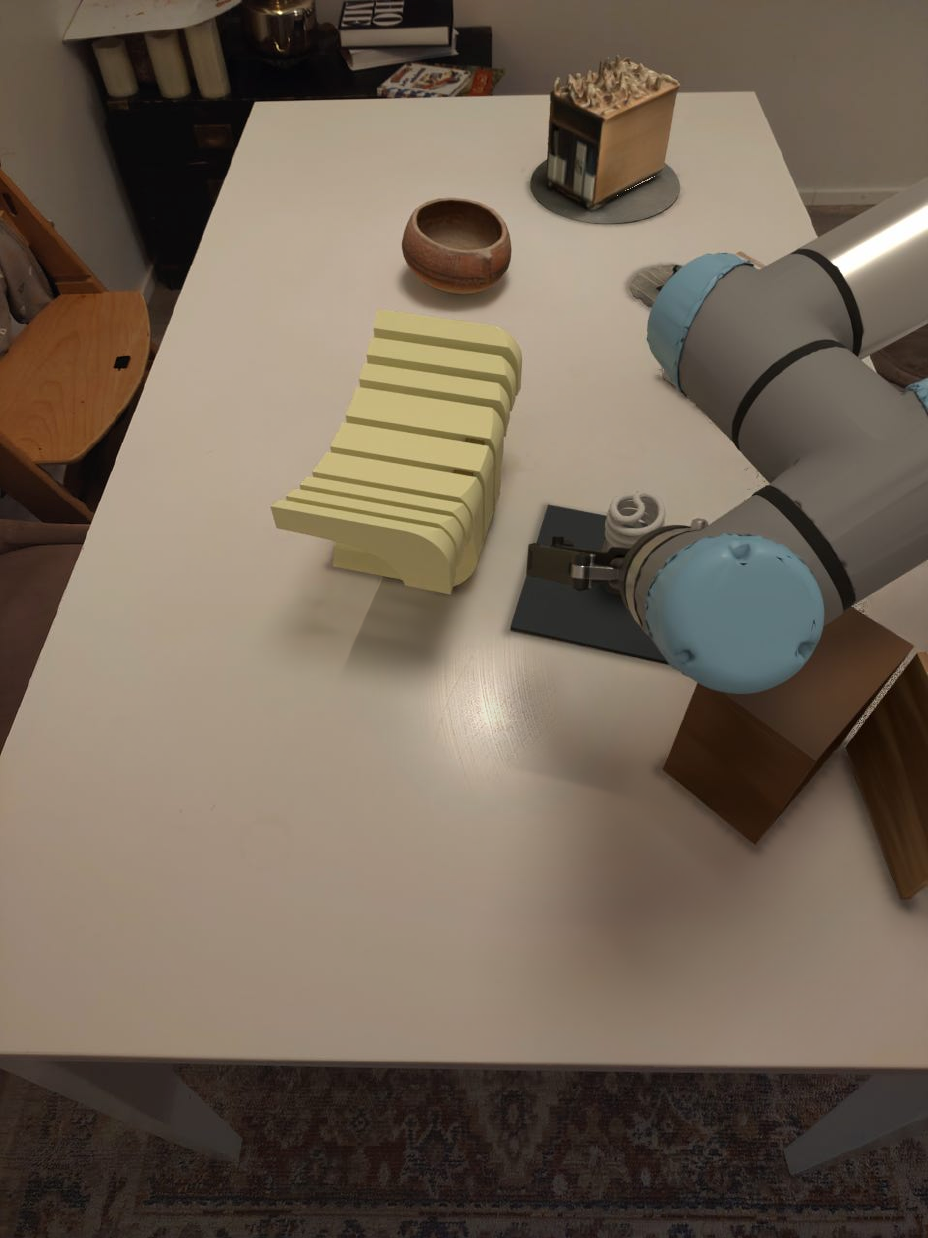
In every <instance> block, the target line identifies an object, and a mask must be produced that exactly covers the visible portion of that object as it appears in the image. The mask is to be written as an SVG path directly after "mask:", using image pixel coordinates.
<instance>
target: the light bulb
mask: <svg viewBox="0 0 928 1238" xmlns="http://www.w3.org/2000/svg"><path fill="white" fill-rule="evenodd" d="M606 516H607V519H606V522H605V528H606V529H605V536H606V540H605V542H604V545H603V548H602V551H605V552H608V551H609V549H610V548H611V547H626V548H631V547H632V546H633V545H634V544H635V543H636V542H637V541H638V540H639V539H640V538H641V537H643V536H644V535H645V534H647V533H649V532H651V531H653V530H655V529H657V528H660V527H664V526H665V524H666V522H665V521H666V505H665V504H664V501H663V500H662V499H661V498H660V497H659V496H658V495H656V494H654V493H652V492H649V491H646V490H645V491H643V490H642V491H638V492H626V493H622V494H619V495H617V496H616V497H614V498H613V499H612V500H611V502H610V504H609V508H608V510H607V513H606ZM640 520H641V521H640ZM640 522H643V523H646V524H647V525H648V526H647V527H644V528H643V527H642V525H641V523H640ZM622 525H628V526H632V527H634V528H635V529H634V528H627V527H624V526H622Z"/></svg>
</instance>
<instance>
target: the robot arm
mask: <svg viewBox="0 0 928 1238" xmlns="http://www.w3.org/2000/svg"><path fill="white" fill-rule="evenodd" d="M734 254H735V253H730V252H717V253H706V254H702V255H700V256H697V257H695V258H693V259H692V260H690V261H688V262H687V263H686V264H684V265H683V266H682V268H680V269H679V270H678V271H677V272H676V273H675V274H674V275H673V276H672V277H671V278H670V279H669V280H668V281H667V283H666V284H665V285H664V286H663V288H662V289H661V291H660V292H659V294H658V296H657V297H656V299H655V301H654V304H653V306H652V308H651V307H650V308H651V309H650V311H649V314H648V319H647V324H646V325H647V327H646V332H647V334H646V342H647V343H648V347H649V350H650V352H651V354H652V355H653V357H654V359H655V360H656V361H657V362H658V364H659V365H660V367H661V368H662V369H663V371H664V370H665V372H666V373H667V374H668V376H669V377H670V378H671V379H672V381H673V382H674V383H675V385H676V386H677V387H676V386H675V387H676V388H677V391H678V392H679V393H680V394H681V395H683V397H687V398H688V399H689V400H691V401H692V403H694V405H696V407H697V408H698V409H699V410H700V411H701V412H702V413H703V414H704V415H705V416H706V417H707V418H708V419H709V420H710V421H711V422H712V423H713V424H714V425H715V426H716V427H717V428H718V429H719V430H720V431H721V432H722V433H723V434H724V435H725V437H727V438H728V439H729V440H730V441H731V442H732V443H733V445H734V447H736V449H737V450H738V451H739V452H740V453H741V455H742V456H743V457H744V458H745V459H746V460H747V461H748V462H749V464H751V465H752V466H753V467H754V469H755V470H756V471H757V472H758V473H759V474H760V475H761V476H762V478H764V480H766V481H767V483H769V484H765V486H763V487H761V488H760V489H758V490H757V491H755V492H754V493H752V494H751V496H750V497H749V498H747V499H745V500H744V501H743V502H741V503H739V504H738V505H737V506H735V507H733V508H732V509H730V510H729V511H727V512H726V513H724V514H723V515H722V516H720V517H719V518H716V520H714V521H713V522H711V523H709V522H708V521H707V520H706V519H705V518H699V517H698V518H694V519H692V520H691V524H690V525H685V524H672V525H664V527H660V528H657V529H655V530H653V531H651V532H649V533H647V534H645V535H644V536H643V537H641V538H640V539H639V540H638V541H637V542H636V543H635V544H634V545H633V546H632V547H631V548H626V547H611V548H610V549H609V551H608V552H605V551H598V550H590V549H583V548H575V547H574V544H573V543H572V542H571V541H570V540H564V537H562V536H551V545H550V547H549V546H544V545H540V544H539V543H537V542H532V543H529V544H528V545H527V557H526V571H525V575H530V576H531V577H538V578H542V579H546V580H550V581H554V582H557V583H561V584H565V585H568V586H570V587H571V588H573V589H576V590H577V591H583V590H587V589H588V588H593V583H596V584H601V585H604V586H605V589H606V591H607V592H609V593H614V594H619V595H621V597H622V600H623V602H624V604H625V606H626V608H627V610H628V611H629V613H630V614H631V615H632V617H633V618H634V620H635V621H636V622H637V623H638V624H639V626H640V627H641V628H642V629H643V630H644V632H645V633H646V634H647V635H648V636H649V637H650V638H651V640H652V641H653V643H654V644H655V645H656V647H657V648H658V650H659V651H660V652H661V654H662V655H663V656H664V658H665V659H666V660H667V662H668V663H669V664H670V665H669V666H671V667H672V668H673V669H676V670H678V671H680V672H681V674H682V675H683V676H685V677H687V678H689V679H691V680H693V681H694V682H696V684H697V683H699V684H701V685H703V686H705V687H707V688H710V689H713V690H716V691H721V692H726V693H733V694H749V693H756V692H761V691H764V690H767V689H770V688H773V687H775V686H777V685H779V684H781V683H783V682H785V681H786V680H788V679H789V678H791V677H792V676H793V675H795V674H796V673H797V672H798V671H799V670H800V669H801V668H802V667H803V666H804V664H805V663H806V662H807V661H808V659H809V658H810V656H811V655H812V653H813V651H814V649H815V647H816V645H817V644H818V642H819V640H820V637H821V634H822V630H823V626H825V625H827V624H828V623H830V622H831V621H833V620H834V619H836V618H837V617H839V616H840V615H841V614H842V613H843V611H845V610H846V609H848V608H849V607H851V606H852V607H854V605H857V604H858V603H859V602H861V601H863V600H865V599H866V598H868V597H869V596H871V595H872V594H874V593H876V592H878V591H879V590H881V589H882V588H884V587H886V586H888V585H889V584H891V583H892V582H894V581H895V580H897V579H898V578H899V579H900V578H901V577H903V576H904V575H905V574H907V573H908V572H911V571H912V570H914V569H915V568H917V567H918V566H920V565H921V564H923V563H925V562H927V561H928V377H926V378H924V379H922V380H920V381H918V382H914V383H910V384H909V385H907V386H906V387H904V390H901V391H900V390H898V389H897V388H896V387H894V386H893V385H892V384H890V382H888V381H887V380H886V379H885V378H883V377H882V375H880V374H879V373H877V372H876V371H875V370H874V369H873V368H872V367H870V366H869V365H868V364H867V363H865V362H864V361H863V360H864V359H866V358H867V357H869V356H871V355H873V354H875V353H876V352H879V351H880V350H882V349H884V348H885V347H888V346H889V345H891V344H893V343H895V342H897V341H898V340H900V339H902V338H903V337H906V336H908V335H909V334H911V333H913V332H915V331H916V330H918V329H920V328H922V327H924V326H926V325H927V324H928V176H926V177H924V178H922V179H921V180H918V181H917V182H915V183H914V184H912V185H910V186H908V187H906V188H905V189H903V190H901V191H899V192H897V193H895V194H894V195H891V196H890V197H888V198H887V199H885V200H882V201H881V202H879V203H877V204H876V205H874V206H872V207H870V208H868V209H866V210H865V211H863V212H861V213H860V214H858V215H856V216H854V217H853V218H850V219H848V220H847V221H845V222H843V223H841V224H840V225H838V226H836V227H834V228H833V229H831V230H828V231H827V232H826V233H823V234H821V235H820V236H818V237H816V238H814V239H812V240H811V241H809V242H807V243H805V244H803V245H802V246H800V247H798V248H797V249H795V250H793V251H792V252H790V253H788V254H786V255H784V256H782V257H779V258H778V259H776V260H775V261H773V262H770V263H769V264H767V265H766V266H765V267H764V268H762V269H759V270H758V269H756V268H755V267H754V264H752V263H751V262H750V261H746V260H742V259H740V258H739V257H738V256H736V255H734Z"/></svg>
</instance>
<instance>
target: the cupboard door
mask: <svg viewBox="0 0 928 1238" xmlns="http://www.w3.org/2000/svg"><path fill="white" fill-rule="evenodd" d="M844 749H845V752H846V754H847V758H848V760H849V763H850V766H851V768H852V771H853V774H854V776H855V779H856V781H857V784H858V786H859V791H860V793H861V795H862V797H863V800H864V803H865V806H866V809H867V811H868V814H869V816H870V819H871V822H872V825H873V827H874V830H875V832H876V833H875V834H876V835H877V838H878V841H879V844H880V846H881V848H882V852H883V854H884V857H885V859H886V862H887V866H888V868H889V870H890V873H891V875H892V879H893V881H894V884H895V886H896V889H897V892H898V895H899V897H900V899H901V900H910V899H912V898H913V897H915V896H916V895H917V894H918V893H920V892H921V891H923V890H924V889H925V888H926V887H928V652H927V651H919V652H916V653H915V654H914V656H913V657H912V658H911V659H910V661H909V662H908V664H907V665H906V666H905V667H904V669H903V670H902V672H901V673H900V674H899V676H898V677H897V678H896V679H895V681H894V682H893V683H892V685H891V686H890V687H889V688H888V690H887V691H886V692H885V694H884V695H883V696H882V698H881V699H880V700H879V702H878V703H877V705H876V706H875V707H874V708H873V709H872V711H871V712H870V714H869V715H868V716H867V718H866V719H865V720H864V721H863V723H862V724H861V725H860V727H859V728H858V729H857V730H856V731H855V733H854V734H853V736H852V737H851V738H850V740H849V741H848V743H847V744H846V745H845V746H844Z"/></svg>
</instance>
